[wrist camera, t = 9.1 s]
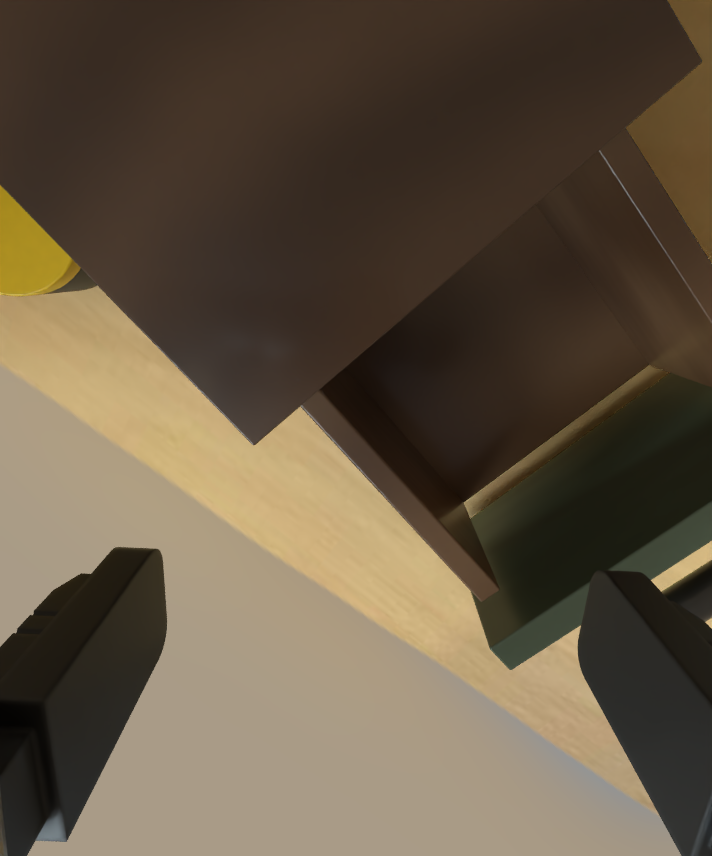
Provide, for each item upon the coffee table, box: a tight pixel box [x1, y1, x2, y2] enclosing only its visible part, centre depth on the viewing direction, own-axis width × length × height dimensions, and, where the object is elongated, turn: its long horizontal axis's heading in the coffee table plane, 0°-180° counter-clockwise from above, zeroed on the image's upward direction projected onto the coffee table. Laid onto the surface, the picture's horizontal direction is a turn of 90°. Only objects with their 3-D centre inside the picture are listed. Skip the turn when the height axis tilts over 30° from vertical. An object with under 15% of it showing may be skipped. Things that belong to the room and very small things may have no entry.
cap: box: [0, 185, 97, 296], centre depth 20 cm, size 5×5×4 cm
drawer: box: [301, 128, 712, 670], centre depth 19 cm, size 20×13×8 cm, turn 41°
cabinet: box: [0, 0, 702, 445], centre depth 16 cm, size 16×14×10 cm
